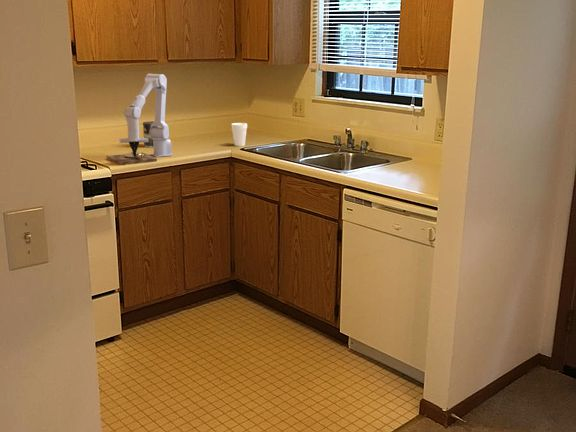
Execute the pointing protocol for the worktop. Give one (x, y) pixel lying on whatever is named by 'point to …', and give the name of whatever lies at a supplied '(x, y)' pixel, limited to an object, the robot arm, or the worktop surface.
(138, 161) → the walnut stand
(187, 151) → the worktop surface
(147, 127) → the coffee can
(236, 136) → the foam cup
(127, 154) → the cam dial
